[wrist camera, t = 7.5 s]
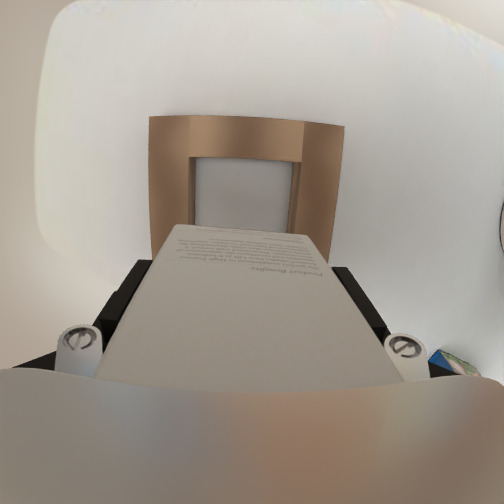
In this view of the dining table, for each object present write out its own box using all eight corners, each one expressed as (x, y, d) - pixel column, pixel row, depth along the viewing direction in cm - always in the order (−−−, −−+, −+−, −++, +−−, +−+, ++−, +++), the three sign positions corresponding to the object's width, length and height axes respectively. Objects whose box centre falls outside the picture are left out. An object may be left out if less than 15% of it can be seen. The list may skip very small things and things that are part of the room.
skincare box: (174, 304, 15) (109, 560, 4) (174, 215, 13) (17, 499, 2) (299, 312, 15) (366, 562, 4) (315, 226, 13) (478, 496, 2)
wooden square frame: (331, 126, 24) (344, 126, 20) (313, 278, 29) (321, 297, 26) (161, 117, 23) (149, 116, 20) (164, 273, 28) (155, 291, 25)
